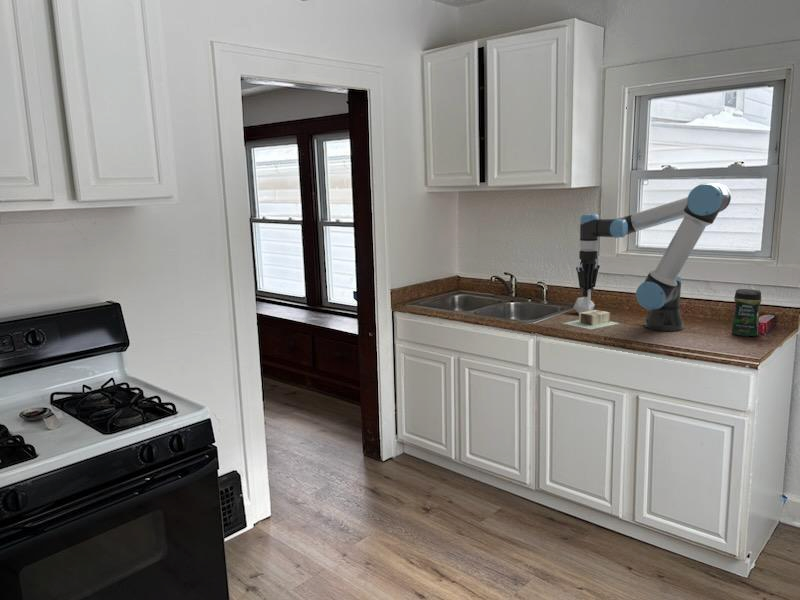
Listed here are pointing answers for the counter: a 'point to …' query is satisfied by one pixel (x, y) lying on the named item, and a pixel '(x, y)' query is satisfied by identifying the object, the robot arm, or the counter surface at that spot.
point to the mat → (576, 323)
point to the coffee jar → (746, 312)
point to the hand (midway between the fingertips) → (586, 303)
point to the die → (583, 306)
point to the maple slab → (594, 317)
